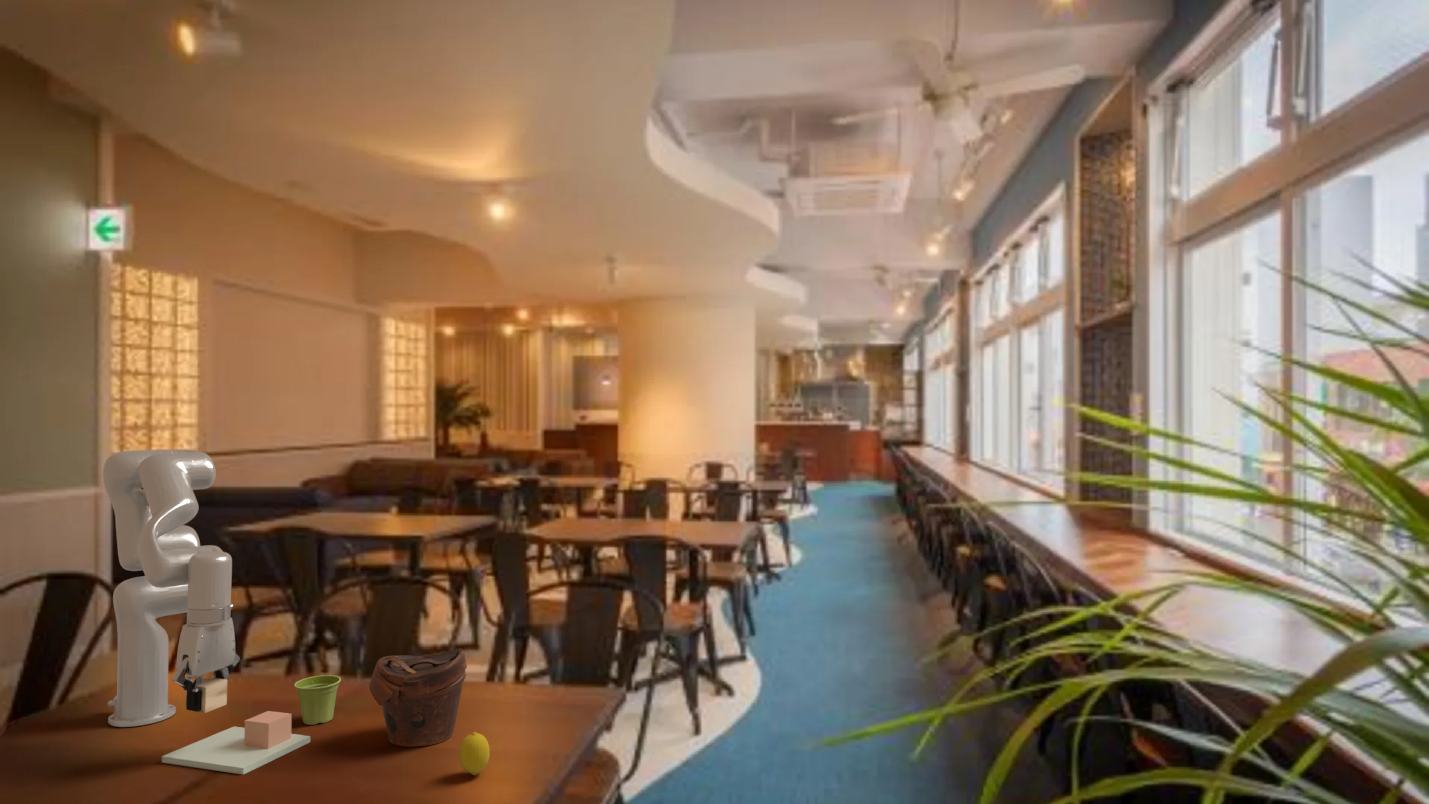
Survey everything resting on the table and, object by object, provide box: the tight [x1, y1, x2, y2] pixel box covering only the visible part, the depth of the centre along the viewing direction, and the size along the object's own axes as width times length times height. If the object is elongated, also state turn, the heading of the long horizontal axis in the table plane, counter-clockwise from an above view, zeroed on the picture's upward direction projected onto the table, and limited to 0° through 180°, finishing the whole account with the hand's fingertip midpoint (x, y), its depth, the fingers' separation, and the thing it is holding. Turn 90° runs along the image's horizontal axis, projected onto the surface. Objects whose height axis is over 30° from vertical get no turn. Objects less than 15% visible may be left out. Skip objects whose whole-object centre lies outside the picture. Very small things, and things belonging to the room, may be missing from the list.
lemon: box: [458, 731, 491, 776], centre depth 160 cm, size 6×6×8 cm
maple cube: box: [185, 676, 228, 714], centre depth 171 cm, size 5×5×5 cm
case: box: [369, 647, 468, 748], centre depth 180 cm, size 18×20×18 cm
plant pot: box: [293, 674, 342, 726], centre depth 190 cm, size 9×9×9 cm
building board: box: [161, 725, 311, 775], centre depth 172 cm, size 20×17×1 cm
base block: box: [244, 710, 293, 749], centre depth 174 cm, size 6×6×5 cm
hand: (206, 704), depth 171 cm, fingers closed on maple cube, 5 cm apart
